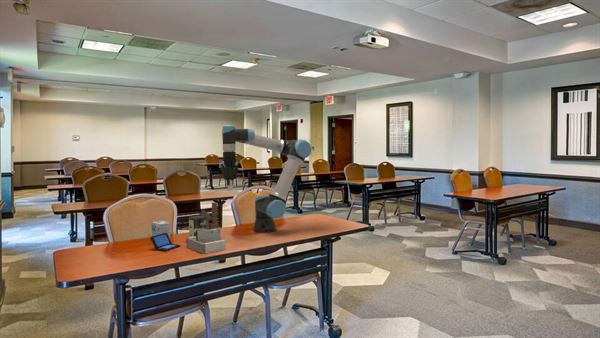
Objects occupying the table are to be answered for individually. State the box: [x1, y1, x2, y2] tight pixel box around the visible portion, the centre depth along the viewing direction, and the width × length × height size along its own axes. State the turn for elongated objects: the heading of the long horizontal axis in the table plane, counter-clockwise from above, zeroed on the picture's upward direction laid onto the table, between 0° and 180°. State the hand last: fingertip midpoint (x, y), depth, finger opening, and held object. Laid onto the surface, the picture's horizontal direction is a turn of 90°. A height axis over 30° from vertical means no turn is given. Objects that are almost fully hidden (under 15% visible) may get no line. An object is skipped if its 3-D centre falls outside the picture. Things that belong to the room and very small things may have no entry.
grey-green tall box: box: [188, 214, 206, 238], centre depth 232 cm, size 10×10×14 cm
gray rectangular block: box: [196, 227, 222, 243], centre depth 214 cm, size 14×5×10 cm, turn 114°
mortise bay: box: [185, 236, 227, 255], centre depth 213 cm, size 14×20×5 cm
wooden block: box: [201, 201, 220, 229], centre depth 263 cm, size 4×11×18 cm, turn 130°
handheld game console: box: [150, 233, 181, 252], centre depth 214 cm, size 12×11×7 cm
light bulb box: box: [151, 220, 171, 239], centre depth 235 cm, size 11×7×11 cm, turn 47°
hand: (230, 190), depth 231 cm, fingers closed
